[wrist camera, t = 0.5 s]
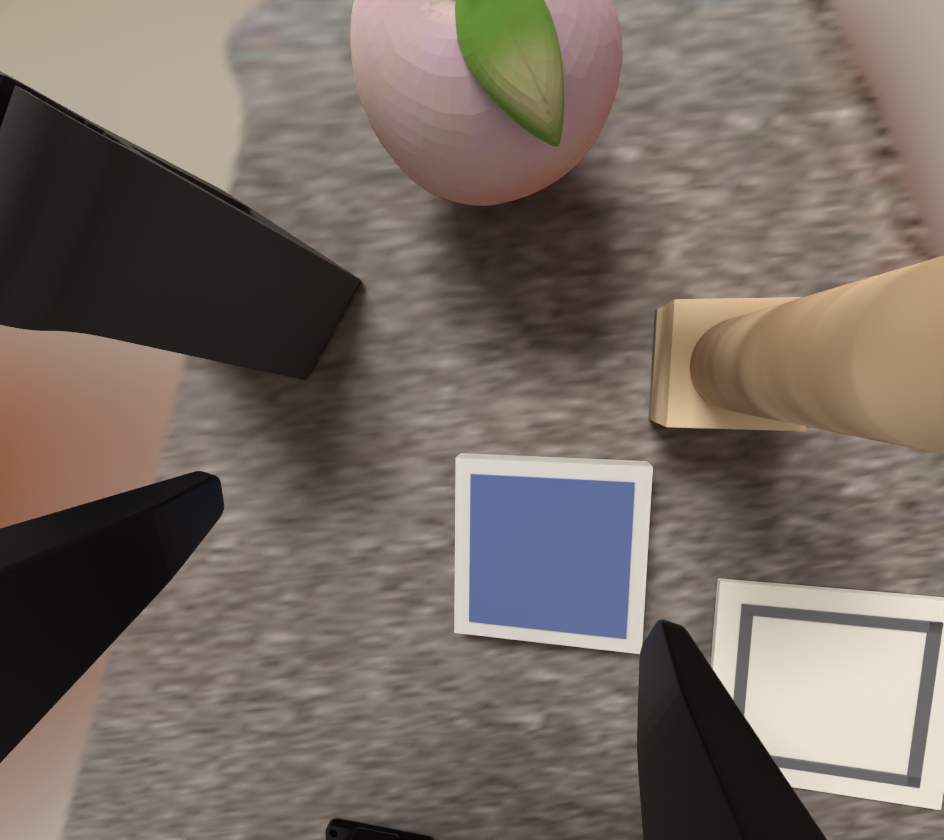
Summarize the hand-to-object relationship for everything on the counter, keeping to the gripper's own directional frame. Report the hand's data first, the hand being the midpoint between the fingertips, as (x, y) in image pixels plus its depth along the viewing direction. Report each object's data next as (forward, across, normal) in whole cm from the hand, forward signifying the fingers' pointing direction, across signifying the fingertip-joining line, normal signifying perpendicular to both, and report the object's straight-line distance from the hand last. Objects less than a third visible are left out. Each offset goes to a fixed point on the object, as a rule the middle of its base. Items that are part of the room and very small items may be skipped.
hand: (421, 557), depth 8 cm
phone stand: (+14, +14, 0) cm, 20 cm away
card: (+10, -18, +11) cm, 23 cm away
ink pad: (+11, -4, +9) cm, 14 cm away
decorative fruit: (+17, +4, -8) cm, 19 cm away
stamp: (+15, -8, -1) cm, 17 cm away
